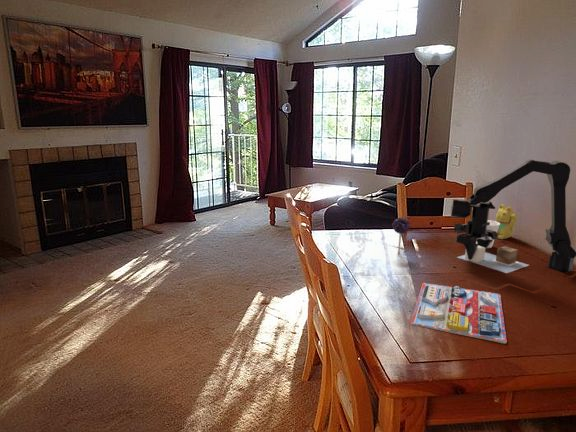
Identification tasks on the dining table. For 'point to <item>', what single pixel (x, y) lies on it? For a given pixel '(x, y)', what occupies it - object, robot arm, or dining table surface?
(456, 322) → the puzzle board
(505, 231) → the figurine
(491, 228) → the cup
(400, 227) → the lollipop
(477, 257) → the cream block
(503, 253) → the walnut block
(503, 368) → the dining table surface
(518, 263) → the mat
